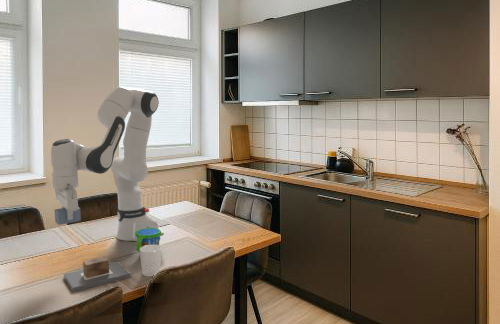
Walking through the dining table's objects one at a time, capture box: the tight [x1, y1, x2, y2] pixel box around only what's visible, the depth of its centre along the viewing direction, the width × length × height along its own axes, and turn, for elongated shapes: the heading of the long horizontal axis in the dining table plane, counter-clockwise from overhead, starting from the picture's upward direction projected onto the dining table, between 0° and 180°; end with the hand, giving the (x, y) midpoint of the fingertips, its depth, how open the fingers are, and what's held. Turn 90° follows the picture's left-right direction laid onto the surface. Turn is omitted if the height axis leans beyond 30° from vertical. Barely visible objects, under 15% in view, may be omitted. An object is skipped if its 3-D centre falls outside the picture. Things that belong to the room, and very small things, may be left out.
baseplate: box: [63, 261, 131, 293], centre depth 148 cm, size 20×14×2 cm
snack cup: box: [135, 228, 161, 253], centre depth 171 cm, size 16×10×10 cm
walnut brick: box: [82, 256, 110, 278], centre depth 148 cm, size 8×4×5 cm, turn 127°
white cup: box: [139, 244, 162, 277], centre depth 152 cm, size 8×8×10 cm
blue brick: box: [53, 206, 82, 226], centre depth 153 cm, size 8×4×5 cm, turn 132°
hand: (68, 217), depth 153 cm, fingers closed on blue brick, 5 cm apart
